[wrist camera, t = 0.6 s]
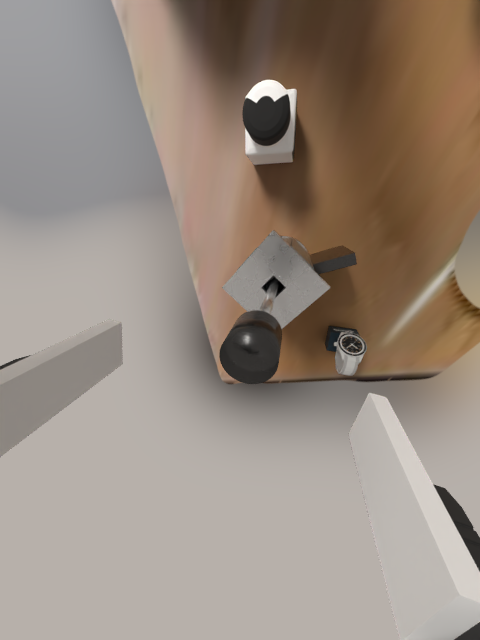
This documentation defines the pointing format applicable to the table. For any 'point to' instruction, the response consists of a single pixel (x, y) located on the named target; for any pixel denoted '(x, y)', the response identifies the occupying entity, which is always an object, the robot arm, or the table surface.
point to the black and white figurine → (270, 123)
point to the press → (285, 275)
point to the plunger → (254, 341)
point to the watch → (345, 348)
